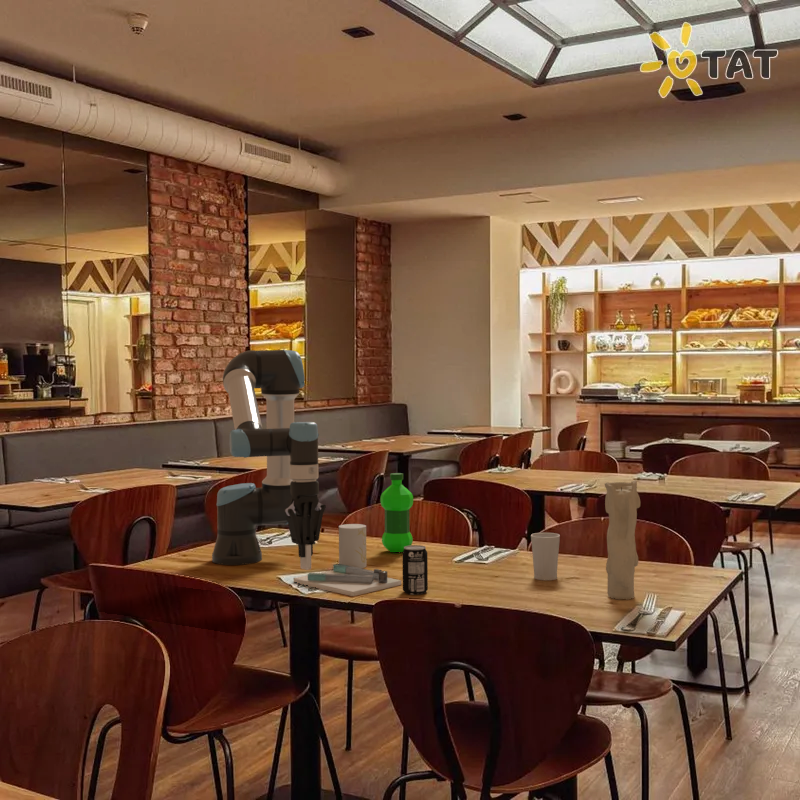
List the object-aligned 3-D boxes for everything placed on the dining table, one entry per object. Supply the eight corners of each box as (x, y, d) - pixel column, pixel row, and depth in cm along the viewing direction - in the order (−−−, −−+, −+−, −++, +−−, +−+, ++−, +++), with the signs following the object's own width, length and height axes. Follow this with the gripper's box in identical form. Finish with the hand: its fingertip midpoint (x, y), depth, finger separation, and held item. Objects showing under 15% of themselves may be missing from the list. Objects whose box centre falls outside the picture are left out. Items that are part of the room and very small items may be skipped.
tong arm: (307, 580, 267) (307, 574, 267) (309, 578, 269) (309, 572, 269) (371, 582, 263) (371, 576, 263) (373, 581, 265) (373, 575, 265)
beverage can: (413, 588, 262) (412, 543, 262) (432, 591, 258) (432, 546, 258) (397, 593, 257) (397, 547, 257) (417, 596, 253) (416, 550, 253)
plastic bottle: (381, 548, 320) (381, 472, 319) (414, 548, 319) (413, 472, 318) (379, 554, 309) (379, 475, 309) (413, 554, 309) (412, 475, 308)
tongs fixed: (329, 576, 278) (329, 562, 278) (338, 574, 281) (338, 560, 281) (383, 588, 263) (382, 573, 263) (392, 585, 266) (392, 571, 266)
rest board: (293, 582, 271) (293, 578, 271) (342, 572, 284) (341, 568, 284) (352, 596, 254) (352, 591, 254) (401, 584, 267) (401, 580, 267)
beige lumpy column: (643, 596, 251) (643, 479, 250) (632, 603, 244) (631, 482, 243) (611, 592, 256) (611, 477, 255) (599, 599, 249) (598, 481, 248)
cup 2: (538, 581, 269) (537, 538, 268) (526, 575, 277) (526, 533, 276) (564, 579, 271) (564, 536, 271) (552, 574, 279) (552, 532, 278)
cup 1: (362, 569, 287) (362, 528, 287) (336, 568, 289) (335, 528, 289) (369, 563, 295) (368, 524, 295) (343, 563, 297) (342, 523, 297)
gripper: (294, 483, 253) (295, 574, 253) (332, 479, 262) (333, 567, 262) (276, 481, 258) (277, 570, 258) (314, 477, 267) (315, 563, 268)
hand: (305, 568), depth 260 cm, fingers closed
